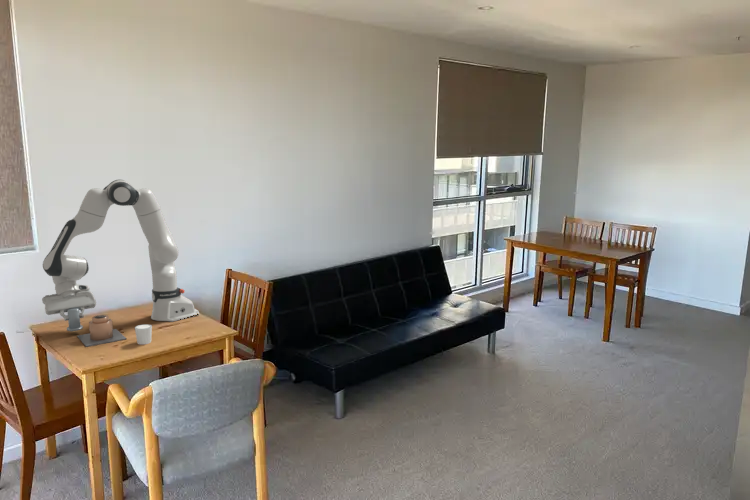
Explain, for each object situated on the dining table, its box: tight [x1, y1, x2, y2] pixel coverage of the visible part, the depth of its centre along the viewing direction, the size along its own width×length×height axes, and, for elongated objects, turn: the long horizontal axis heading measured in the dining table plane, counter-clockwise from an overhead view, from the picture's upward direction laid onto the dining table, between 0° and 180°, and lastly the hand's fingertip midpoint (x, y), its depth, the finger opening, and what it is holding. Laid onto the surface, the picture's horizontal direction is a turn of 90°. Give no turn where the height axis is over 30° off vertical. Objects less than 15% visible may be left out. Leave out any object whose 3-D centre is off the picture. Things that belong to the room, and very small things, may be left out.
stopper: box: [66, 308, 84, 332], centre depth 252 cm, size 6×6×9 cm
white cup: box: [134, 324, 153, 346], centre depth 243 cm, size 7×7×7 cm
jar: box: [76, 314, 127, 348], centre depth 247 cm, size 16×16×10 cm
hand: (74, 318), depth 251 cm, fingers closed on stopper, 5 cm apart
